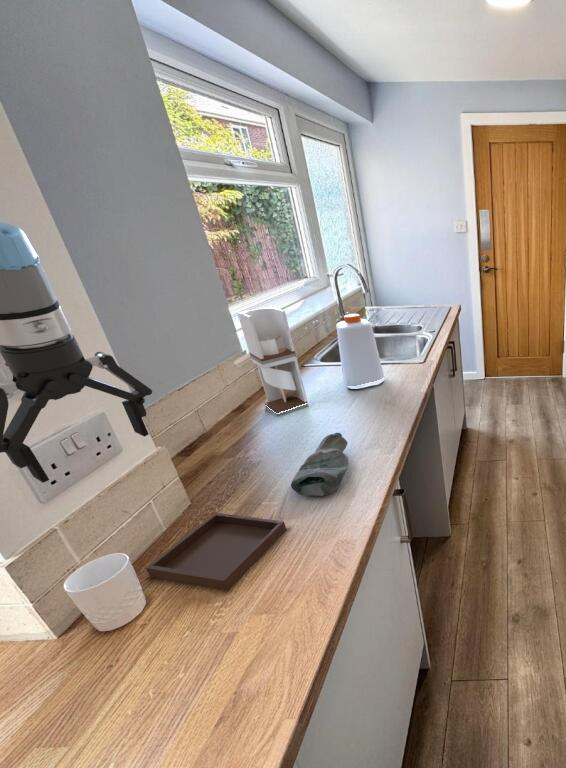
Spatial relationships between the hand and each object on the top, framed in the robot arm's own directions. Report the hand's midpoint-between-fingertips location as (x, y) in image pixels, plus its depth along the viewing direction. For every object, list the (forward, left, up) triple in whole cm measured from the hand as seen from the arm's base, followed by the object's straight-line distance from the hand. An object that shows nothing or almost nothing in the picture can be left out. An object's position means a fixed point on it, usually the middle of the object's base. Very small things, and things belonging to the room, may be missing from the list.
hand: (95, 454), depth 68 cm
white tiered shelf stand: (-26, +69, -27) cm, 79 cm away
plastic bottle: (-9, +95, -27) cm, 99 cm away
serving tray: (+9, +6, -27) cm, 29 cm away
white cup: (+3, -9, -27) cm, 29 cm away
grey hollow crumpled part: (+14, +36, -27) cm, 47 cm away
